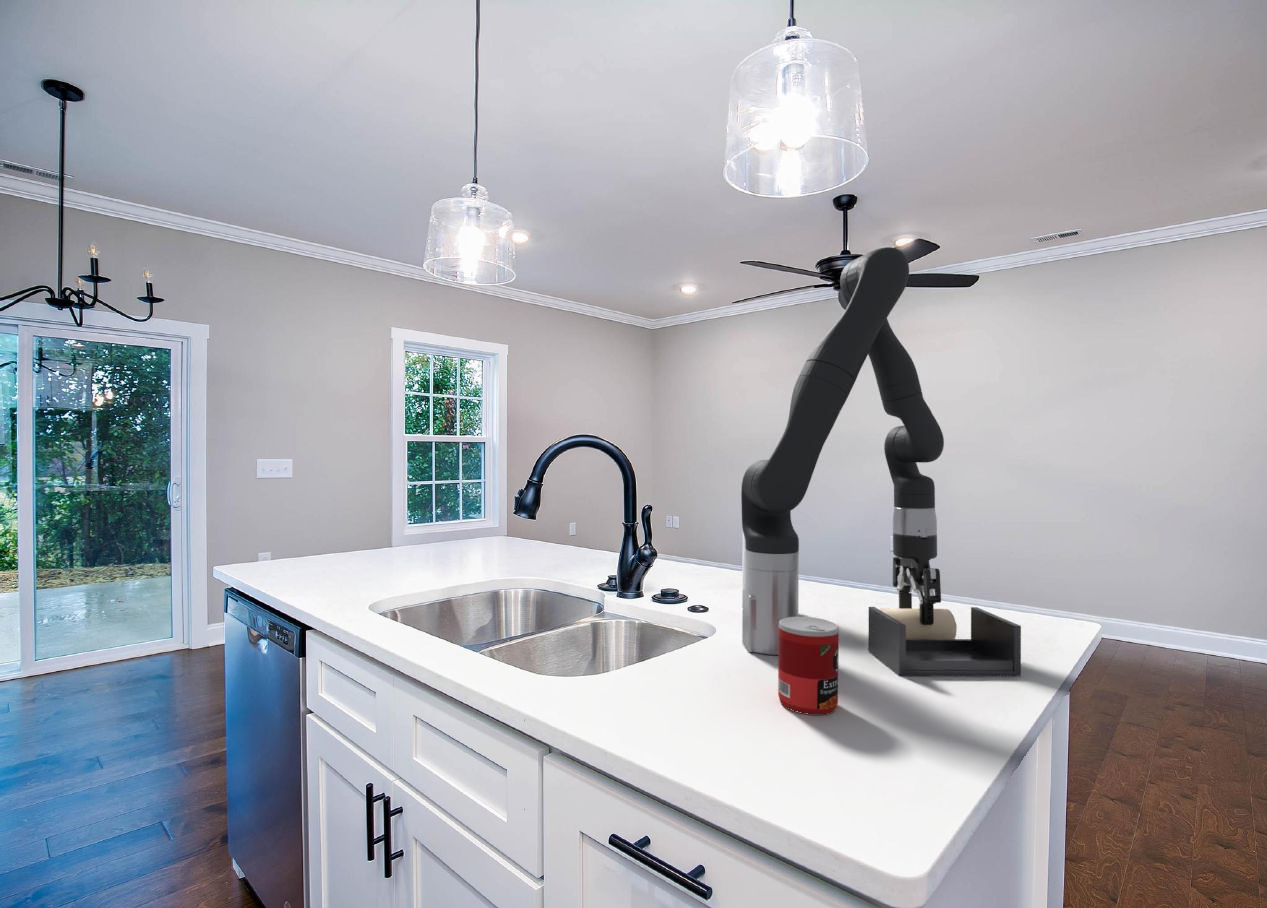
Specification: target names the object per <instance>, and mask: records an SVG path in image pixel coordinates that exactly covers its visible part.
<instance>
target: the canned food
mask: <svg viewBox="0 0 1267 908" xmlns="http://www.w3.org/2000/svg"><path fill="white" fill-rule="evenodd" d="M839 631H840V630H839V626H838V625H837V624H836V623H835V622H833V621H830V620H827V619H824V618H819V617H818V618H817V617H811V616H810V617H809V616H798V617H788V618H784V619H781V620H780V621H779V632H778V655H777V657H778V658H777V659H778V660H777V661H778V665H777V669H778V670H777V672H778V674H777V676H778V677H777V678H778V680H777V681H778V683H777V685H778V686H777V687H778V689H777V691H778V693H777V694H778V698H779V699H778V700H779V703H780V704H781V703H782V704H781V705H782V706H783V707H785V708H786V707H787V708H786V709H788V708H789V709H792V710H794V711H793V712H795V711H798V712H801V713H800V714H802V713H808V714H825V715H828V714H827V713H829V714H832V713H834V712H835V711H836V710H837V707H838V704H839V657H840V656H839V646H840V643H839V641H840V638H839V635H840V633H839ZM789 709H788V710H789ZM835 709H836V710H835ZM792 710H791V711H792ZM798 712H797V713H798ZM831 712H832V713H831ZM808 714H807V715H808Z"/></svg>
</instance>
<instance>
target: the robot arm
mask: <svg viewBox="0 0 1267 908" xmlns="http://www.w3.org/2000/svg"><path fill="white" fill-rule="evenodd" d="M909 276H910V265H909V261H908V258H907V256H906V255H905V254H904V253H903V252H902V251H901V250H900V249H898V248H896V247H892V246H891V247H890V246H889V247H887V246H885V247H881V248H877V249H874V250H871V251H869V252H867V253H865V254H863V255H861V256H859V257H856V258H855V259H853V260H851V261H849V262H848V263H847V264H846V265H845V266H844V268H843V269H842V271H841V275H840V279H839V283H840V284H839V286H840V290H841V293H842V296H843V299H844V301H845V304H846V308H845V310H844V311H843V313H842V314H841V316H840V317H839V318H838V319H837V321H836V322H835V323H834V325H832V327H831V328H830V329H829V330H828V331H827V332H826V333H825V335H823V337H822V338H821V339H820V341H819V342H818V343H817V344H816V346H815V347H814V348H813V350H812V351H811V352H810V354H809V355H808V357H807V359H806V361H805V363H804V365H803V367H802V369H801V371H800V374H799V375H798V377H797V379H796V381H795V384H794V387H793V390H792V394H791V399H790V405H789V414H788V418H787V423H786V427H785V429H784V432H783V435H782V437H781V438H780V440H779V441H778V444H777V446H775V447H776V448H775V449H774V451H773V452H772V454H771V456H770V457H769V458H768V459H762V460H757V461H755V462H754V463H752V464H751V465H749V466H748V468H747V469H746V470H745V472H744V474H743V476H744V477H743V476H742V481H741V494H740V495H741V501H740V502H741V527H742V534H743V533H744V536H745V542H746V572H745V589H744V590H743V609H742V620H741V621H742V628H741V629H742V631H741V632H742V635H741V636H742V637H741V638H742V640H741V641H742V644H743V645H744V647H745V648H746V650H747V651H748V652H749V653H759V654H764V655H769V656H770V655H772V656H774V655H775V656H778V632H779V621H780V620H781V619H784V618H788V617H799V594H800V593H799V588H800V587H799V584H800V583H799V581H800V579H799V575H800V571H799V570H800V569H799V568H800V561H799V560H800V559H799V558H800V553H799V550H800V547H799V546H800V542H799V541H800V539H799V536H798V533H797V532H796V531H795V529H794V526H793V523H792V517H791V516H792V515H791V513H792V512H791V511H793V510H794V509H795V508H796V507H798V506H799V505H800V504H801V502H802V500H803V499H804V498H805V496H806V493H807V491H808V488H809V485H810V482H811V480H812V477H813V474H814V472H815V468H816V466H817V462H818V460H819V457H820V455H821V452H822V450H823V447H824V446H825V443H826V441H827V440H828V438H829V435H830V434H831V431H832V430H833V427H834V425H835V423H836V421H837V419H838V417H839V415H840V413H841V411H842V409H843V407H844V405H845V404H846V401H847V400H848V398H849V395H850V393H851V391H852V389H853V387H854V385H855V383H856V381H857V378H858V376H859V374H860V372H861V370H862V367H863V365H864V364H865V361H866V359H867V357H868V358H869V359H870V363H871V366H872V369H873V373H874V375H875V381H876V384H877V387H878V392H879V395H880V400H881V404H882V407H883V410H884V411H885V413H886V414H887V415H888V416H891V417H896V418H898V419H899V420H900V421H901V423H902V424H903V425H899V426H895V427H893V428H892V429H890V430H889V432H888V433H887V434H886V437H885V439H884V445H883V447H884V455H885V460H886V464H887V467H888V470H889V474H890V478H891V481H892V485H893V516H892V554H893V555H894V556H893V558H892V586H893V588H896V591H897V593H898V609H913V604H912V603H913V602H912V601H913V597H912V596H913V593H912V591H913V592H914V593H915V594H917V597H918V601H919V604H918V605H919V609H920V623H921V624H923V625H932V624H933V623H934V609H935V608H934V605H935V604H938V603H941V602H942V593H941V592H942V591H941V590H942V589H941V588H942V587H941V571H940V569H939V568H931V564H930V561H931V560H933V559H935V558H937V557H938V526H937V525H938V522H937V514H936V508H935V507H936V499H935V498H936V488H935V481H934V480H933V479H932V477H930V476H927V475H924V474H922V473H921V472H920V470H919V467H918V464H917V463H924V464H926V463H932V462H934V461H936V460H938V459H939V458H940V457H941V455H942V452H944V446H945V439H944V434H943V432H942V428H941V426H940V425H939V423H938V420H936V418H935V416H934V414H933V412H932V411H931V409H930V407H929V406H928V404H927V402H926V400H925V399H924V396H923V391H922V387H921V384H920V379H919V375H918V372H917V368H916V366H915V363H914V361H913V359H912V357H911V355H910V354H909V353H908V351H907V349H906V348H905V347H904V345H903V344H902V342H900V340H899V339H898V337H897V335H896V334H895V332H894V330H893V329H892V326H891V325H890V323H889V320H888V316H889V315H890V313H891V312H892V311H893V308H894V307H895V306H896V304H897V302H898V301H899V299H900V298H901V296H902V295H903V292H904V290H905V289H906V287H907V283H908V282H909V278H910V277H909Z"/></svg>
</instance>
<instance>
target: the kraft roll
mask: <svg viewBox="0 0 1267 908" xmlns="http://www.w3.org/2000/svg"><path fill="white" fill-rule="evenodd" d="M879 610H881V611H882V612H884V613H886V614H887V615H889V616H891V617H892V618H894V619H896V620H897V621H899V622H901V623H903V624H904V625H906V639H956V637H957V629H958V627H957V626H958V625H957V623H956V622H957V621H956V618H955V616H954V614H953V612H951V611H952V610H950V609H948V608H934V623H933V624H932V625H923V624H921V623H920V608H912V609H899V608H893V607H891V608H890V607H889V608H888V607H887V608H886V607H885V608H880V609H879Z"/></svg>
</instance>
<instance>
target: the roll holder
mask: <svg viewBox="0 0 1267 908" xmlns="http://www.w3.org/2000/svg"><path fill="white" fill-rule="evenodd" d="M867 633H868V638H867V639H868V644H867V645H868V646H867V647H868V651H869V652H868V653H870V654H871V655H872V656H873V657H875V658H876V659H877V660H878V659H879V660H878V661H879V662H880V663H882V664H883V665H884V666H886V667H887V668H889V670H891V671H892V672H894V674H896V675H897V676H898V677H1021V675H1022V671H1021V670H1022V667H1021V666H1022V625H1019V624H1018V623H1015V622H1013V621H1010V620H1008V619H1005V618H1003V617H1001V616H999V615H996V614H993V613H991V612H989V611H987V610H984V609H982V608H979V607H977V606H976V607H975V606H971V607H970V638H955V639H906V625H904V624H903V623H901V622H899V621H897V620H896V619H894V618H892V617H891V616H889V615H887V614H886V613H884V612H882V611H881V610H880V609H879V608H877V607H875V606H868V632H867Z"/></svg>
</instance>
